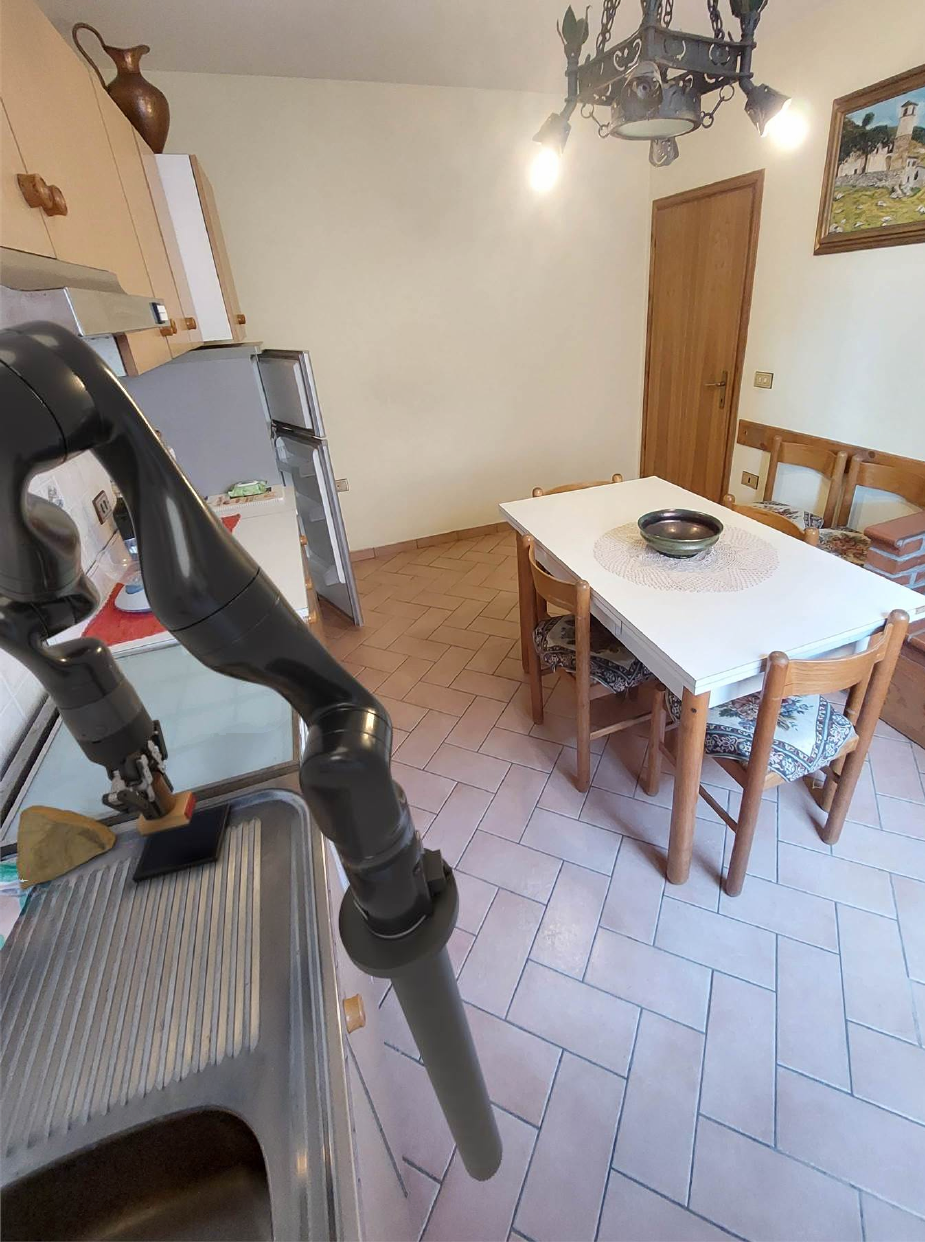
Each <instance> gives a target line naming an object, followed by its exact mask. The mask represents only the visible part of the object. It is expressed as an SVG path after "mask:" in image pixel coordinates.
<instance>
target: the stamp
mask: <svg viewBox="0 0 925 1242" xmlns="http://www.w3.org/2000/svg"><path fill="white" fill-rule="evenodd" d="M151 776H152V778H153V781H152V783H151V787H152V789H153V791H154V794H155V795H156V796H157V798H158V799H159V801H160V803H161V804H162V806H163V807H164V809H165V814H164V817H162V818H159V819H155V820H149V821H147V820H146V819H145V818H144V816H143V815H142V813H141V812H140V814H139V817H138V820H137V821H136V824H135V827H136V829H137V830H138V832H139V833H140V835H141V837H142V838H146V837H148V836H150V835H154V834H158V833H162V832H166V831H169V830H173V829H177V828H181V827H185V826H189V824H190V821H191V818H192V815H193V813H194V812H195V808H196V805H197V800H196V798H195V796H194V794H193V793H192V790H187V791H183V792H179V793H174V794H173V792H172V793H171V791H170V789H169V787H168V786H167V784H166V782H165V781H164V779H163V777H162V775H161V774H160V773H159V772H151ZM141 780H142V779H141ZM136 793H137V795H140V794H144V792H143V791H142V790H138V791H136Z"/></svg>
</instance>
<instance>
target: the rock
mask: <svg viewBox="0 0 925 1242" xmlns="http://www.w3.org/2000/svg"><path fill="white" fill-rule="evenodd" d="M17 830H18V831H17V835H16V842H17V843H16V845H17V846H16V850H17V851H16V852H17V855H16V856H17V857H16V861H15V864H16V865H15V866H16V871H17V874H18V877H17V879H20V880H22V879H23V880H28V881H24V882H20V881H19V889H20V890H25V889H27V888H28V887H30V886H33V885H38V884H40V883H45V882H48V881H53V880H54V879H56V878H59V877H60V876H62V875H64V874H67V873H68V872H69V871H72V870H73V869H75V868H76V867H78V866H79V865H82V864H84V863H86V862H88V861H89V860H90V859H92V858H94V857H95V856H98V855H101V854H103V853H105V852H108V851H109V850H110V849H112V848H113V846H114V843H115V841H116V835H115V833H114V832H113V831H112V830H111V829H110V827H109V826H107V825H105V824H103V823H101V822H99V821H97V820H96V819H95V818H93V817H91V816H86V815H83V814H81V813H78V812H76V811H72V810H69V809H60V808H58V807H57V808H56V807H52V806H46V805H42V804H40V805H38V804H37V805H32V806H29V807H27V808H25V809H23V810H22V811H21V812H20V814H19V821H18V826H17Z"/></svg>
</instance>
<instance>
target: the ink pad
mask: <svg viewBox="0 0 925 1242" xmlns="http://www.w3.org/2000/svg"><path fill="white" fill-rule="evenodd" d="M231 811H232V805H231V804H230V803H227V804H222V805H219V806H214V807H210V808H206V809H202V810H198V811H194V812H193V815H192V818H191V821H190V824H189V826H185V827H181V828H177V829H173V830H169V831H166V832H162V833H158V834H154V835H150V836H147V838H146V841H145V844H144V846H143V849H142V852H141V854H140V857H139V859H138V862H137V865H136V867H135V870H134V872H133V875H132V878H131V880H132V881H133V883H135V884H136V883H140V882H145V881H148V880H152V879H155V878H160V877H163V876H167V875H171V874H174V873H178V872H182V871H186V870H189V869H194V868H197V867H202V866H204V865H208V864H213V863H215V862H219V859H220V855H221V851H222V848H223V843H224V839H225V834H226V831H227V828H228V823H229V820H230V815H231Z"/></svg>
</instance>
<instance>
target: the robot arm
mask: <svg viewBox="0 0 925 1242" xmlns="http://www.w3.org/2000/svg"><path fill="white" fill-rule="evenodd" d="M88 451H89V452H90V453H91V454H92V456H93V457H94V458H95V459H96V460H97V462H98V463H99V464H100V466H101V467H102V468H103V470H105V472H106V474H107V475H108V477H109V478H110V479H111V481H112V483H113V484H114V486H115V487H116V488H117V490H118V491H119V493H120V496H121V497H122V499H123V501H124V504H125V506H126V509H127V511H128V514H129V517H130V521H131V524H132V529H133V534H134V541H135V547H136V552H137V553H136V554H137V561H138V567H139V574H140V578H141V584H142V589H143V592H144V594H145V595H144V596H145V598H146V602H147V604H148V606H149V609H150V611H151V613H152V615H153V617H154V618H155V619H156V621H157V622H158V623H159V624H161V626H162V627H163V628H164V629H165V630H166V631H167V632H168V633H169V634H170V635H171V636H172V637H173V638H174V639H175V640H176V641H177V642H178V643H179V644H180V645H181V646H182V647H183V648H184V649H185V650H186V651H187V652H188V653H189V654H190V655H191V656H193V658H195V659H196V660H197V661H198V662H199V663H200V664H202V665H203V666H204V667H206V668H207V669H209V670H210V671H212V672H214V673H216V674H219V675H221V676H224V677H227V678H230V679H233V680H236V681H241V682H244V683H248V684H253V685H254V684H255V685H258V686H262V687H265V688H268V689H269V690H272V691H274V692H276V693H277V694H278V695H279V696H280V697H282V698H283V699H284V700H285V701H286V703H287V704H289V705H290V707H291V708H292V709H294V711H295V712H296V713H297V715H298V716H299V717H300V718H301V720H302V721H303V722H304V724H305V727H306V729H307V731H308V735H307V738H306V742H305V744H304V745H305V746H304V750H303V754H302V758H301V761H300V766H299V770H298V784H299V789H300V792H301V795H302V797H303V799H304V802H305V804H306V806H307V809H308V810H309V813H310V814H311V816H312V818H313V820H314V822H315V824H316V826H317V828H318V829H319V831H320V833H321V834H322V835H323V836H324V837H325V838H326V839H327V840H328V841H330V842H331V843H333V846H334V849H335V851H336V854H337V856H338V859H339V862H340V864H341V866H342V868H343V871H344V873H345V877H346V878H347V881H348V883H349V885H350V886H351V889H352V891H353V894H354V896H355V898H356V901H357V903H358V905H357V903H356V902H355V901H354V902H355V905H356V906H357V907H358V909H359V910H360V911H361V914H362V917H363V920H364V923H365V925H366V927H367V929H368V930H369V931H370V933H371V934H373V935H374V936H375V937H377V938H380V939H383V940H397V939H401V938H404V937H406V936H408V935H410V934H411V933H413V932H414V931H415V930H417V929H418V928H419V927H420V926H421V925H422V924H423V922H424V921H425V919H426V918H428V917H431V916H434V914H435V911H434V901H433V893H436V892H439V891H443V890H446V889H447V887H446V879H445V878H446V877H448V876H449V875H451V873H452V872H453V867H451V866H450V865H449V866H444V864H443V859H444V858H443V855H442V851H441V849H440V848H438V849H435V850H432V851H431V852H428V853H425V851H424V848H425V847H424V844H423V841H422V837H421V833H420V830H419V829H416V826H415V824H414V820H413V815H412V812H411V809H410V805H409V801H408V798H407V795H406V792H405V790H404V788H403V787H402V785H401V784H400V783H399V782H397V780H395V779H393V775H392V756H393V743H394V727H393V722H392V718H391V716H390V714H389V712H388V710H387V709H386V708H385V706H384V705H383V704H382V703H381V701H380V700H378V698H377V697H376V696H375V695H374V694H373V693H372V692H371V691H370V690H368V689H367V688H366V687H365V686H364V684H362V683H361V682H360V681H359V680H358V679H357V678H356V677H355V676H353V675H352V674H351V672H350V671H348V670H347V669H346V668H345V667H344V666H343V665H342V664H341V663H340V661H338V660H337V659H336V658H335V657H334V656H333V654H332V653H331V652H330V651H329V650H328V649H327V647H326V646H325V645H324V644H323V642H322V641H321V640H320V638H319V637H318V636H317V635H316V634H315V633H314V631H313V630H312V628H310V627H309V625H308V624H307V623H306V622H305V621H304V620H303V618H302V617H301V616H300V615H299V613H297V612H296V610H295V608H294V607H293V606H292V605H291V604H290V603H289V601H288V600H287V599H286V597H285V596H284V594H283V593H282V592H281V590H280V589H279V588H278V586H277V585H276V584H275V583H274V581H273V580H272V579H271V577H269V575H268V574H267V573H266V572H265V570H264V569H263V568H262V567H261V565H259V563H258V562H257V561H256V559H254V558H253V556H252V555H251V554H250V553H249V552H248V550H246V548H245V547H244V546H243V545H242V544H241V543H240V542H239V540H238V539H237V538H236V537H235V536H234V535H233V533H232V532H231V531H230V530H229V529H228V527H227V526H226V525H225V523H224V522H223V521H222V520H221V519H220V517H219V516H218V515H217V514H216V513H215V511H214V509H212V507H211V506H210V505H209V504H208V502H207V501H206V500H205V499H204V497H203V496H202V495H201V494H200V492H199V491H198V490H197V488H196V486H194V484H193V483H192V481H191V480H190V479H189V477H188V476H187V475H186V473H185V472H184V470H183V469H182V467H181V466H180V465H179V463H178V462H177V460H176V459H175V457H174V456H173V454H172V453H171V452H170V450H169V448H168V447H167V445H166V444H165V442H164V441H163V439H162V438H161V437H160V435H159V433H158V432H157V431H156V429H155V428H154V426H153V424H152V423H151V422H150V421H149V419H148V418H147V416H146V415H145V413H144V412H143V410H142V409H141V407H140V406H139V404H138V403H137V401H136V400H135V398H134V397H133V395H132V394H131V393H130V391H129V390H128V389H127V387H126V386H125V384H124V383H123V382H122V380H121V378H119V376H118V375H117V374H116V373H115V371H114V370H113V369H112V368H111V367H110V365H109V364H108V362H106V360H105V359H104V358H103V357H102V356H101V355H100V353H98V352H97V351H96V349H94V348H93V347H92V346H91V345H89V343H87V342H86V341H85V340H84V339H83V338H82V337H81V336H79V335H78V334H76V333H75V332H73V331H72V330H70V329H69V328H67V327H66V326H63V325H61V324H59V323H56V322H54V321H50V320H45V319H36V320H29V321H25V322H21V323H18V324H14V325H11V326H8V327H5V328H1V329H0V649H1V650H3V651H4V652H5V653H7V654H8V655H10V656H11V657H13V658H14V659H16V660H17V661H18V662H19V663H21V665H23V666H24V667H25V668H26V669H27V670H28V671H29V672H31V674H32V675H33V676H34V677H35V678H36V679H37V680H38V681H39V682H40V684H41V685H42V688H43V689H44V690H45V692H46V693H47V694H48V696H49V697H50V699H51V700H52V702H53V704H54V705H55V707H56V709H57V710H58V713H59V715H60V718H61V720H62V722H63V724H64V725H65V727H66V728H67V730H68V731H69V732H70V734H71V736H72V737H73V738H74V741H76V743H77V745H78V746H79V747H80V749H81V751H82V752H83V754H84V755H85V756H86V758H87V760H89V761H90V762H91V763H93V764H97V765H99V766H102V767H103V768H105V771H106V775H107V778H108V780H109V781H110V782H111V785H110V791H109V792H108V793H104V794H102V796H101V803H102V805H104V806H106V807H108V808H110V809H112V810H115V811H117V812H119V813H121V814H122V815H124V816H126V815H130V814H132V813H137V812H140V814H141V813H142V815H143V816H144V818H145V819H146V820H147V821H149V820H155V819H159V818H162V817H164V814H165V809H164V807H163V806H162V804H161V803H160V801H159V799H158V798H157V796H156V795H155V794H154V791H153V789H152V787H151V783H152V781H153V778H152V776H151V772H159V773H160V774H161V775H162V777H163V779H164V781H165V782H166V784H167V786H168V787H169V789H170V791H171V793H172V794H173V792H174V790H175V788H174V786H173V784H172V782H171V780H170V778H169V777H168V775H167V773H166V771H167V767H166V764H165V762H164V761H166V760H168V758H169V754H168V748H167V745H166V742H165V737H164V734H163V730H162V726H161V722H160V720H159V719H154V720H153V719H152V718H151V716H150V714H149V712H148V710H147V709H146V707H145V705H144V703H143V701H142V699H141V698H140V696H139V694H138V692H137V691H136V689H135V687H134V686H133V684H132V683H131V682H130V681H129V679H128V678H127V677H126V676H125V674H124V672H123V671H122V670H121V669H122V668H120V665H119V663H118V662H117V660H116V658H115V657H114V655H113V652H112V651H111V650H110V648H109V646H108V645H107V643H106V642H105V641H104V640H103V639H102V638H101V639H100V638H99V637H96V636H82V637H81V636H80V637H76V638H72V639H69V640H65V641H61V642H59V643H55V644H50V645H44V643H45V642H46V641H48V640H50V639H51V638H54V637H55V636H57V635H60V634H61V633H63V632H66V631H67V630H69V629H71V628H73V627H74V626H78V625H79V624H81V623H83V622H85V621H86V620H88V619H89V618H91V617H92V616H93V615H94V614H95V613H96V612H97V610H98V609H99V607H100V605H101V600H102V599H101V594H100V591H99V590H98V588H97V586H96V585H95V583H94V582H93V580H92V579H90V577H89V576H88V574H86V573H85V571H84V568H83V567H82V541H81V535H80V530H79V528H78V526H77V524H76V522H75V520H74V519H73V518H72V516H70V514H69V513H68V512H67V511H66V510H65V509H63V508H62V507H61V506H60V505H58V504H56V503H54V502H52V501H51V500H49V499H47V498H45V497H42V496H40V495H38V494H34V493H32V492H30V491H29V487H30V485H31V482H32V480H33V479H34V478H35V477H36V476H38V475H41V474H45V473H47V472H50V471H52V470H54V469H56V468H57V467H60V466H61V465H63V464H66V463H68V462H69V461H71V460H73V459H74V458H76V457H78V456H80V455H82V454H84V453H86V452H88ZM156 747H157V748H156ZM141 779H142V780H141ZM138 790H142V791H143V792H144V794H140V795H138V794H137V792H136V791H138ZM442 858H443V859H442Z"/></svg>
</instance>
